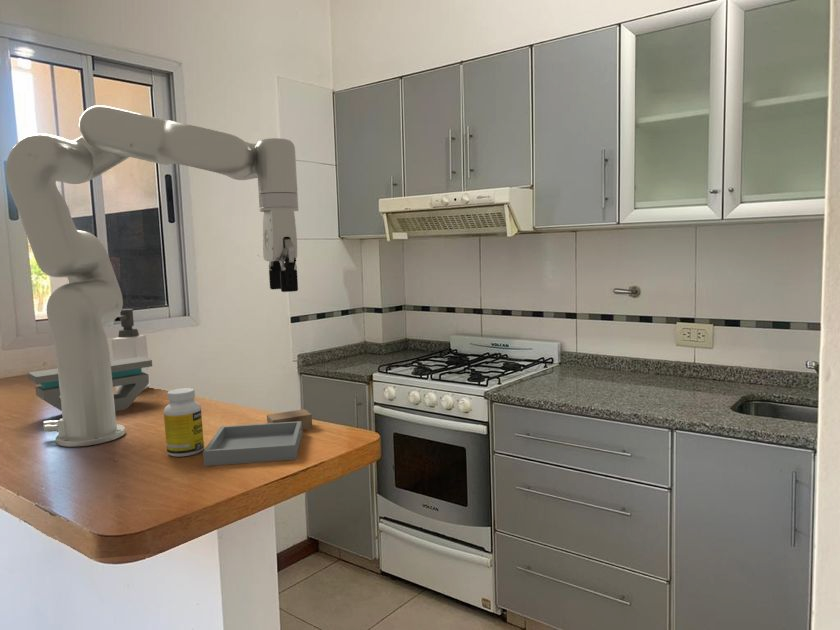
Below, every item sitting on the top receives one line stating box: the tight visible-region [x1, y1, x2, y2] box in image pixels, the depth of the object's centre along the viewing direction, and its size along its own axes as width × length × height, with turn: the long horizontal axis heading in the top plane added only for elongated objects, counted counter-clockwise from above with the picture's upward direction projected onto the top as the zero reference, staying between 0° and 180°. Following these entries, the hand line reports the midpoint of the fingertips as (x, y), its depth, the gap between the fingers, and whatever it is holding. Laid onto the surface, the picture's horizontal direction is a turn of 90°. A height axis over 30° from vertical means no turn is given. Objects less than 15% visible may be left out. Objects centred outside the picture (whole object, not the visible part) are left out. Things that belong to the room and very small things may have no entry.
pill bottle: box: [163, 387, 205, 458], centre depth 119 cm, size 6×6×12 cm
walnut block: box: [266, 408, 313, 431], centre depth 132 cm, size 8×5×3 cm, turn 116°
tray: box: [202, 421, 303, 467], centre depth 120 cm, size 16×16×3 cm
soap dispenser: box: [110, 308, 151, 392], centre depth 174 cm, size 6×9×22 cm
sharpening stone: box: [27, 357, 153, 412], centre depth 153 cm, size 25×8×11 cm, turn 132°
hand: (283, 290), depth 129 cm, fingers open, 9 cm apart
